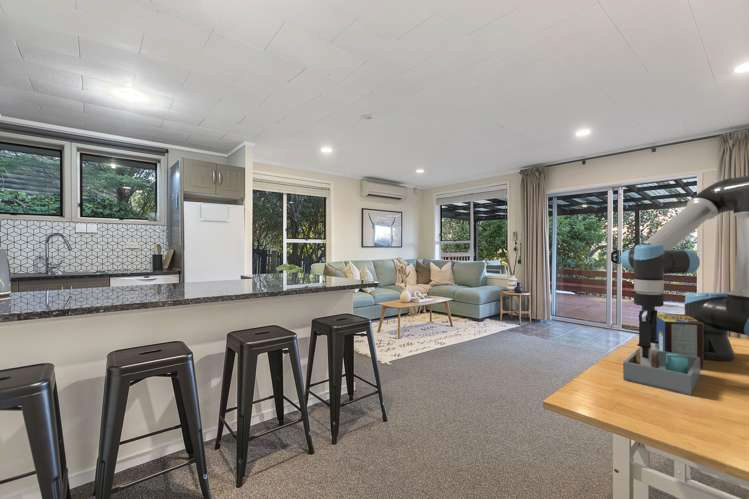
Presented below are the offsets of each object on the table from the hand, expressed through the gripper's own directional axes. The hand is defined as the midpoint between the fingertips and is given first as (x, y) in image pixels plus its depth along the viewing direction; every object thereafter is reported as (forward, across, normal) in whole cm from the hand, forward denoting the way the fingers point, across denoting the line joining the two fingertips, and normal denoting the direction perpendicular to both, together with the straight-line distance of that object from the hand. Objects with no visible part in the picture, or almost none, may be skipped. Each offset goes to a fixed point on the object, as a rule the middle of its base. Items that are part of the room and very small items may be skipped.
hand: (647, 365), depth 113 cm
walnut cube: (0, 0, 0) cm, 0 cm away
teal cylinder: (+2, 0, +7) cm, 8 cm away
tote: (+3, 0, +4) cm, 5 cm away
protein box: (+3, -23, +4) cm, 24 cm away
